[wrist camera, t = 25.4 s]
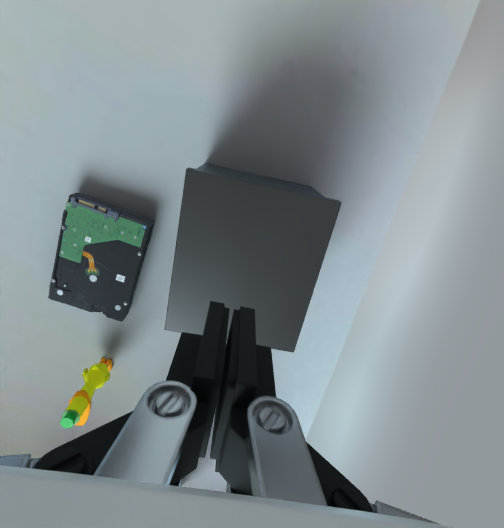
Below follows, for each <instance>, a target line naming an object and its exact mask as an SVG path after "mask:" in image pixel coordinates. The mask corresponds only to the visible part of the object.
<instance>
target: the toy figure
mask: <svg viewBox="0 0 504 528" xmlns="http://www.w3.org/2000/svg"><path fill="white" fill-rule="evenodd" d="M111 368H112V361H111V359H108V360H107V363H106V359H105V358H102V359H101V361H100V363H99V364H95V365H92V366H91V368H90V369H89V371H88V369H87V368H86V369H85V370H84V371H83V375H82V377H84V381H85V385H84V386H83V387H82V389H81V390H80V391H77V392H76V393H75V395H74V396H73V398H72V399H71V400H70V402H69V406H68V407H67V409H66V410H65V412H64V413H63V414H62V420H61V421H60V424H61V426H62V427H64V428H66V429H67V428H71V427H72V426H73V425H74V424H75V425H79V426H82V425H83V424H85V422H86V421H87V419H88V416H89V413H90V409H91V398H92V396H93V394H94V391H95V389H97V388H100V387H102V386H103V385H104V383H105V382H106V381H108V380H109V378H110V373H109V371H110V370H111Z"/></svg>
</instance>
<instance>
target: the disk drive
mask: <svg viewBox="0 0 504 528" xmlns="http://www.w3.org/2000/svg"><path fill="white" fill-rule="evenodd" d="M153 225H154V221H153V220H150V219H147V218H145V217H143V216H140V215H137V214H135V213H132V212H129V211H126V210H124V209H121V208H118V207H115V206H113V205H110V204H107V203H105V202H102V201H99V200H96V199H93V198H91V197H88V196H85V195H82V194H79V193H75V194H72V195H70V196H69V201H68V202H67V203H66V210H64V213H63V218H62V226H61V231H60V236H59V241H58V247H57V253H56V258H55V263H54V269H53V274H52V280H51V283H50V289H49V290H50V291H49V297H48V298H49V299H51V300H55V301H58V302H61V303H65V304H68V305H71V306H74V307H77V308H80V309H83V310H86V311H89V312H101V311H103V314H105V315H106V316H107V317H108V318H112V319H115V320H118V321H123V320H124V319H125V317H126V316H127V314H128V312H129V309H130V306H131V303H132V300H133V295H134V291H135V288H136V284H137V281H138V277H139V274H140V270H141V267H142V264H143V260H144V257H145V253H146V250H147V246H148V243H149V241H150V237H151V232H152V229H153Z"/></svg>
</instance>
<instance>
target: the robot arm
mask: <svg viewBox="0 0 504 528" xmlns="http://www.w3.org/2000/svg"><path fill="white" fill-rule="evenodd" d="M224 306H225V303H220V302H214V301H210V305H209V310H208V314H207V318H206V323H205V327H204V332H203V335H198V334H192V333H187V332H182V334H181V337H180V340H179V343H178V346H177V349H176V352H175V355H174V358H173V361H172V364H171V367H170V370H169V373H168V376H167V379H166V381H162V382H159V383H156V384H154V385H153V386H151V387H149V388H148V389H147V391H146V392H145V393H144V394H143V396H142V398H141V399H140V401H139V402H138V404H137V406H136V407H135V409H134V410H133V411H132V412H130V413H128V414H126V415H124V416H122V417H119V418H117V419H115V420H113V421H111V422H109V423H107V424H105V425H103V426H101V427H99V428H97V429H95V430H92V431H90V432H88V433H86V434H84V435H82V436H80V437H78V438H76V439H74V440H72V441H70V442H67V443H65V444H63V445H61V446H59V447H57V448H55V449H53V450H52V451H50V452H49V453H47V454H45V455H44V456H43V457H42V458H34V459H31V454H22V455H8V456H0V528H451V527H448V526H444V525H441V524H438V523H435V522H433V521H430V520H427V519H425V518H422V517H419V516H417V515H414V514H411V513H409V512H406V511H403V510H401V509H398V508H395V507H393V506H390V505H387V504H385V503H382V502H379V501H376V502H375V504H371V503H369V501H368V500H367V498H366V497H365V496H364V495H363V494H362V493H361V491H360V490H358V489H357V488H356V487H355V486H354V485H353V484H352V483H351V482H350V481H349V480H348V479H346V478H345V477H344V476H343V475H342V474H341V473H340V472H339V471H338V470H337V469H335V468H334V467H333V466H332V465H331V464H330V463H329V462H328V461H327V460H325V459H324V458H323V457H322V456H321V455H320V454H319V453H318V452H317V451H316V450H315V449H314V448H312V447H311V446H310V445H309V444H308V443H307V442H306V441H305V438H304V435H303V432H302V429H301V426H300V423H299V420H298V417H297V415H296V413H295V411H294V410H293V409H292V407H291V406H290V405H289V404H287V403H286V402H284V401H283V400H281V399H279V398H276V392H275V382H274V373H273V363H272V353H271V348H270V347H268V346H262V345H256V324H255V309H253V308H247V307H242V306H240V309H239V310H237V309H234V312H233V316H232V320H231V325H230V330H229V334H228V339H227V329H228V320H229V311H230V308H226V307H224ZM226 339H227V343H226ZM215 409H216V411H215ZM214 414H215V420H214V428H213V437H212V445H211V453H210V459H216V469H215V472H219V473H220V474H221V475H222V476H223V478H224V479H225V480H226V481H227V487H226V492H218V491H210V490H203V489H195V488H187V487H180V485H181V480H182V478H184V477H185V476H186V475H188V474H189V473H191V472H192V471H193V470H195V469H196V467H197V463H198V458H199V457H203V458H205V454H206V449H207V445H208V440H209V436H210V431H211V427H212V423H213V418H214Z"/></svg>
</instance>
